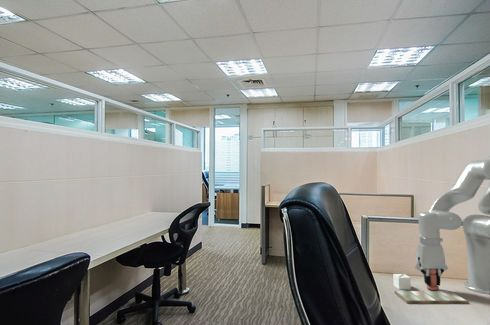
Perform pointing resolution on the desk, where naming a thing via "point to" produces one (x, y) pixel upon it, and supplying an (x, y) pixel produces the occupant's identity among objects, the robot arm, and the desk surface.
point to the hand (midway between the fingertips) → (432, 284)
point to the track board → (431, 297)
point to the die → (402, 281)
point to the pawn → (433, 280)
